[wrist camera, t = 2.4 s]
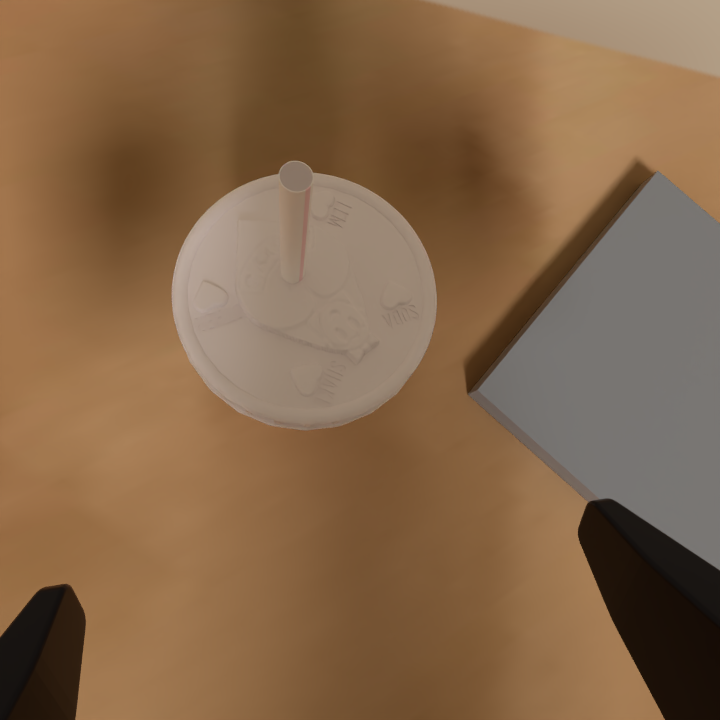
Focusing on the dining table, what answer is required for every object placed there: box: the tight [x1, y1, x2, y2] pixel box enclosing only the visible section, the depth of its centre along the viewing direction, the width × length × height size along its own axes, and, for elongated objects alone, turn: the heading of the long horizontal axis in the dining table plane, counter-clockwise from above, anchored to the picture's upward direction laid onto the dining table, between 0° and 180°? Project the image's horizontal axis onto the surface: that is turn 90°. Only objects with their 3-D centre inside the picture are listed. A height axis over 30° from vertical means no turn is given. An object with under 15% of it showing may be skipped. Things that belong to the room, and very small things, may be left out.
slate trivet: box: [468, 171, 720, 570], centre depth 24 cm, size 14×14×1 cm
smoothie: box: [172, 161, 437, 431], centre depth 15 cm, size 6×6×14 cm
